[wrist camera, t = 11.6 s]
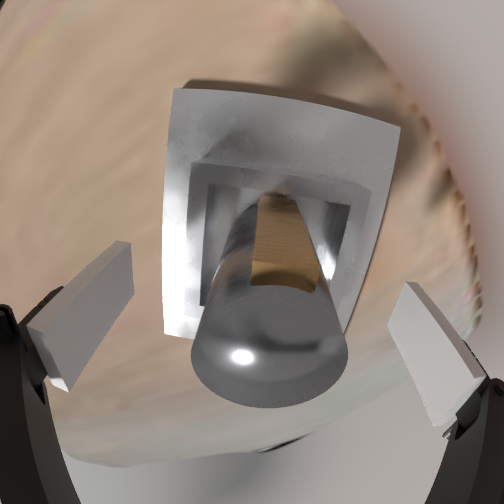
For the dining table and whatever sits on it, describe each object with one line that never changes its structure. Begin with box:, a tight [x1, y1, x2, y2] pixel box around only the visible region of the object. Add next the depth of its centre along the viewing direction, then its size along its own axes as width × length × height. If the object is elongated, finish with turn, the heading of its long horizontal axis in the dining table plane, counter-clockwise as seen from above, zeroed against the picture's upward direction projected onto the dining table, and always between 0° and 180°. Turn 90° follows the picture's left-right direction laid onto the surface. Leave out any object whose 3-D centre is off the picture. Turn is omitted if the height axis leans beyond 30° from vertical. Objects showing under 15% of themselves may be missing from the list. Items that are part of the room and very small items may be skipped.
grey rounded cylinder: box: [191, 195, 348, 408], centre depth 13 cm, size 5×6×10 cm
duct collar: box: [162, 88, 401, 339], centre depth 17 cm, size 18×14×4 cm
